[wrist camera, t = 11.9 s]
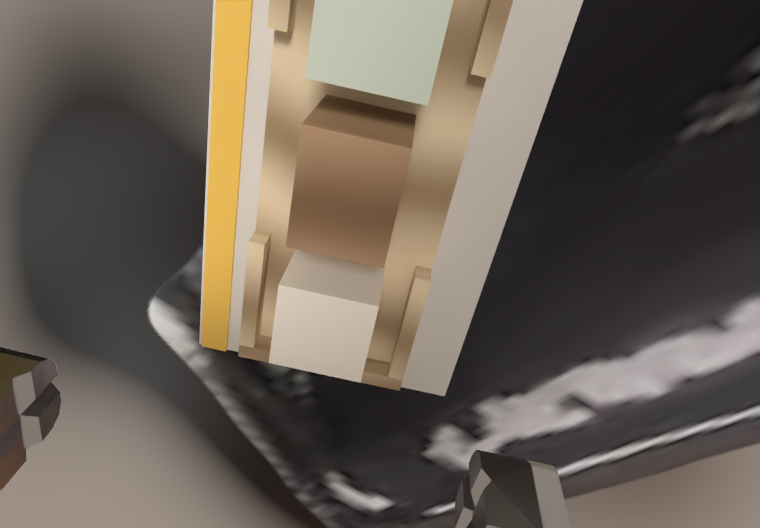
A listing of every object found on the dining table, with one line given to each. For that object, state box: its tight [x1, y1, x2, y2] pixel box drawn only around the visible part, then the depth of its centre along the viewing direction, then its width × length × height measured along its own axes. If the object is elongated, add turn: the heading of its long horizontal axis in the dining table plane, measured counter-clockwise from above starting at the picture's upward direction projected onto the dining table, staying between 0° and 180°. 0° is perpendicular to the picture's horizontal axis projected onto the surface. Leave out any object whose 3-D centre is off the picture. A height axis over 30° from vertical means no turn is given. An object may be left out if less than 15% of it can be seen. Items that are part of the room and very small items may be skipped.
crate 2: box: [269, 249, 387, 383], centre depth 26 cm, size 4×4×4 cm
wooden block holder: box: [238, 0, 513, 391], centre depth 24 cm, size 24×9×8 cm, turn 168°
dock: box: [199, 0, 583, 396], centre depth 29 cm, size 30×16×4 cm, turn 168°
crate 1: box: [305, 0, 454, 106], centre depth 20 cm, size 4×4×4 cm
